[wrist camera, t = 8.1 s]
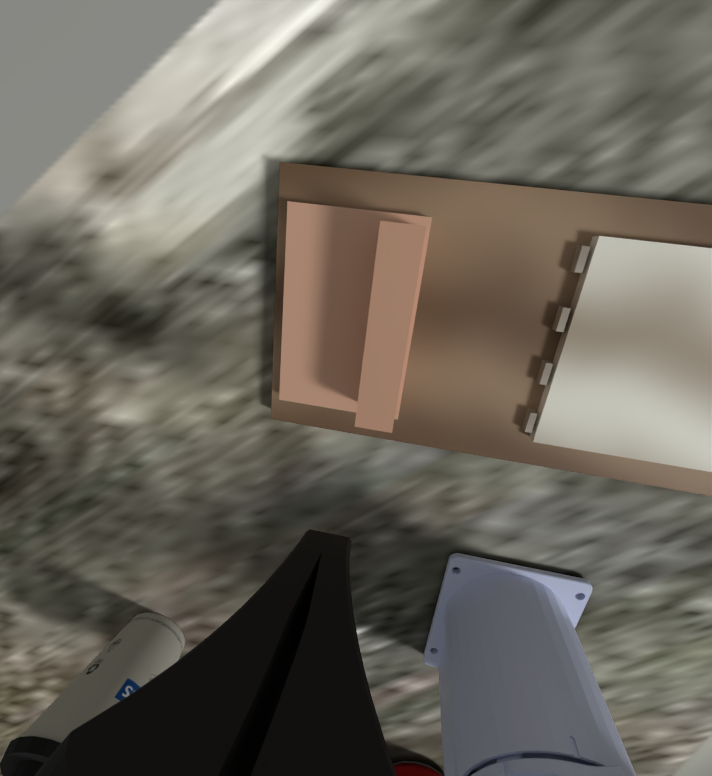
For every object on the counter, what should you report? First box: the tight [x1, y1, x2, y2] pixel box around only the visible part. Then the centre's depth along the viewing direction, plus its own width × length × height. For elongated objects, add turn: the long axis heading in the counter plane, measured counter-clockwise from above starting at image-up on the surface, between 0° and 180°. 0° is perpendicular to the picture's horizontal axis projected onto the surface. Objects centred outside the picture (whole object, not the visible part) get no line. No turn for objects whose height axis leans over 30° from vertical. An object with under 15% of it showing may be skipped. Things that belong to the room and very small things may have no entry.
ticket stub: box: [279, 201, 432, 433], centre depth 16 cm, size 9×6×3 cm, turn 174°
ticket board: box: [271, 162, 712, 496], centre depth 17 cm, size 12×24×2 cm, turn 84°
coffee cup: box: [0, 612, 185, 776], centre depth 25 cm, size 7×7×10 cm
